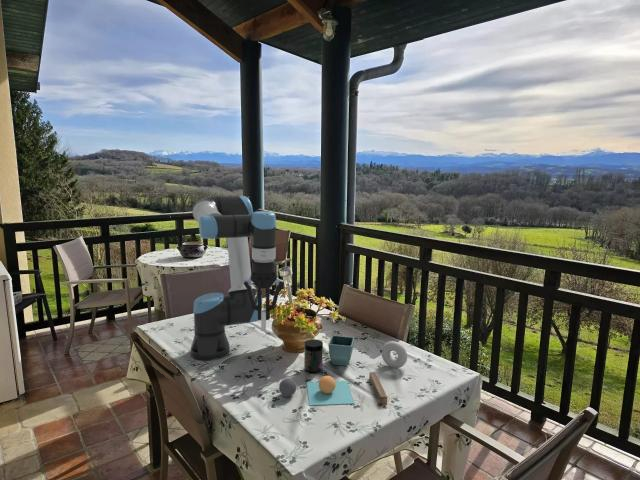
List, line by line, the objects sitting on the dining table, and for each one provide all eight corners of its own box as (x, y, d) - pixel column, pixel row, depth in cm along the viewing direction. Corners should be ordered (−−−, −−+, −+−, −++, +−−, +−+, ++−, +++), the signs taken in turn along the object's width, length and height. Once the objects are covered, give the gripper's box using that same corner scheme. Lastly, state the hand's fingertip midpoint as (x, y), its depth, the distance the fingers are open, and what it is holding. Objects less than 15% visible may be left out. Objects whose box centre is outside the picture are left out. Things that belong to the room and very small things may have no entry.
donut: (408, 369, 144) (409, 343, 142) (404, 372, 141) (405, 346, 139) (383, 362, 149) (384, 337, 148) (379, 365, 146) (380, 340, 145)
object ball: (331, 377, 123) (340, 391, 124) (328, 369, 129) (336, 382, 130) (316, 386, 123) (325, 400, 124) (314, 378, 128) (322, 391, 129)
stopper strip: (380, 404, 120) (380, 396, 120) (369, 378, 136) (369, 372, 136) (387, 404, 120) (387, 396, 120) (374, 378, 136) (375, 371, 136)
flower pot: (351, 369, 143) (351, 346, 142) (327, 367, 145) (328, 344, 143) (354, 359, 151) (354, 337, 150) (331, 356, 153) (332, 335, 152)
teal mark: (309, 405, 119) (309, 405, 119) (306, 382, 133) (306, 382, 133) (354, 403, 120) (354, 403, 120) (347, 381, 134) (347, 380, 134)
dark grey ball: (291, 381, 121) (298, 396, 122) (292, 372, 127) (299, 386, 128) (275, 387, 122) (282, 402, 122) (277, 378, 127) (284, 392, 128)
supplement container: (318, 376, 138) (318, 348, 136) (301, 372, 140) (301, 344, 139) (325, 368, 144) (325, 341, 142) (308, 364, 146) (308, 338, 145)
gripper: (242, 262, 121) (242, 334, 125) (284, 262, 122) (283, 333, 126) (244, 257, 128) (244, 324, 132) (284, 257, 129) (283, 324, 134)
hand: (263, 329), depth 129 cm, fingers closed
